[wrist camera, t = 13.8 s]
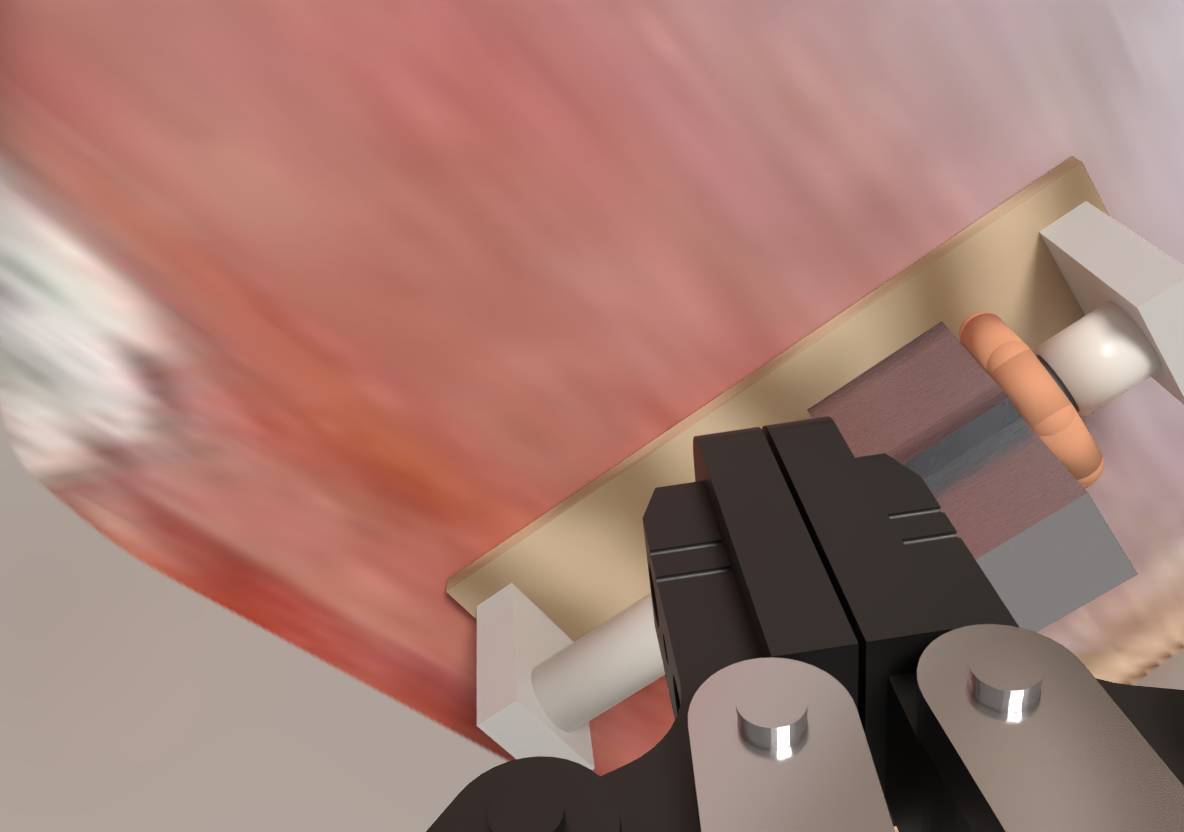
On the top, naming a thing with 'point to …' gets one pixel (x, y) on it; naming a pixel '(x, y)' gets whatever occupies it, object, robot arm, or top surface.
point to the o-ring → (1033, 393)
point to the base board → (787, 402)
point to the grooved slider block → (984, 475)
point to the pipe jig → (628, 640)
